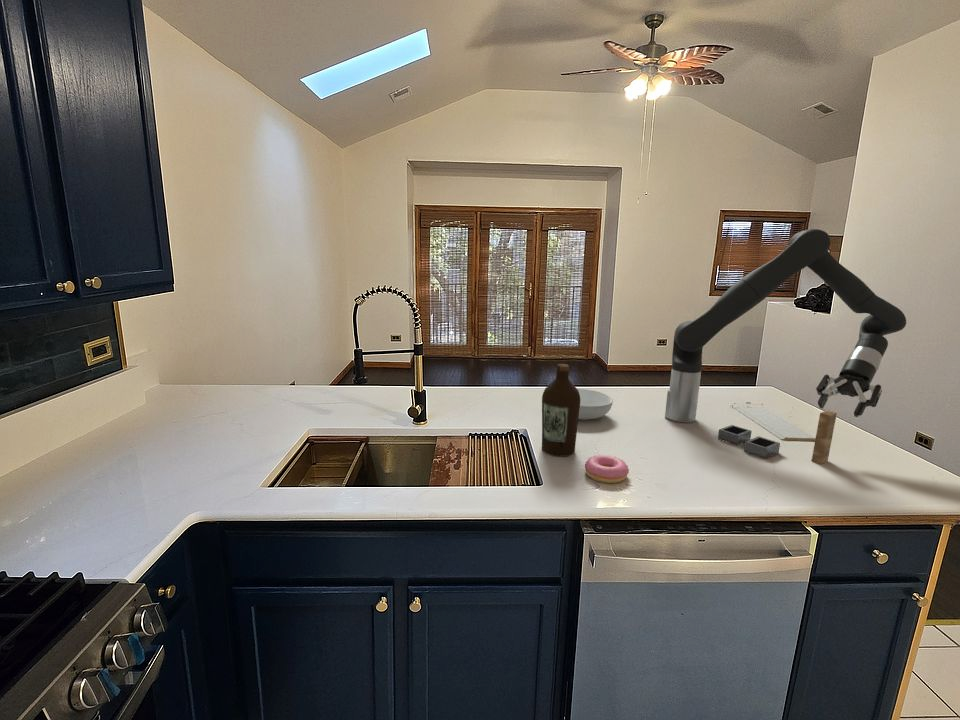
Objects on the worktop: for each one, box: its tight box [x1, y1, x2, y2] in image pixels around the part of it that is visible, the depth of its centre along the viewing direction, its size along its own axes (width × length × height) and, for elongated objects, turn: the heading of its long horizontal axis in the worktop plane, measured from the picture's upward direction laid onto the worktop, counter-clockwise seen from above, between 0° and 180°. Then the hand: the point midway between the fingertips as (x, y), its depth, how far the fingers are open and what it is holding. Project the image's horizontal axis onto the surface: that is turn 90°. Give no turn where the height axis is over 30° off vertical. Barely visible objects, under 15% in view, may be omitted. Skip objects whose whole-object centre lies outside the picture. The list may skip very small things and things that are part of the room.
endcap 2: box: [743, 435, 781, 460], centre depth 143 cm, size 6×8×3 cm
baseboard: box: [731, 401, 816, 442], centre depth 168 cm, size 31×3×12 cm
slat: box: [811, 410, 838, 465], centre depth 137 cm, size 2×4×14 cm, turn 125°
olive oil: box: [541, 363, 580, 457], centre depth 140 cm, size 11×11×25 cm
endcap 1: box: [717, 424, 752, 446], centre depth 152 cm, size 6×8×3 cm
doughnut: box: [584, 454, 630, 484], centre depth 127 cm, size 11×11×4 cm
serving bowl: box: [577, 388, 614, 421], centre depth 172 cm, size 21×21×7 cm
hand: (837, 411), depth 139 cm, fingers open, 8 cm apart
